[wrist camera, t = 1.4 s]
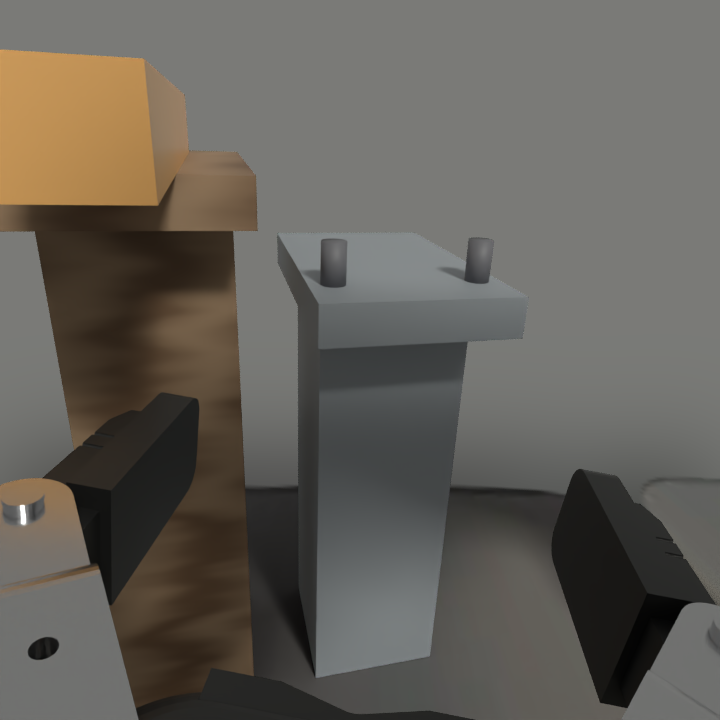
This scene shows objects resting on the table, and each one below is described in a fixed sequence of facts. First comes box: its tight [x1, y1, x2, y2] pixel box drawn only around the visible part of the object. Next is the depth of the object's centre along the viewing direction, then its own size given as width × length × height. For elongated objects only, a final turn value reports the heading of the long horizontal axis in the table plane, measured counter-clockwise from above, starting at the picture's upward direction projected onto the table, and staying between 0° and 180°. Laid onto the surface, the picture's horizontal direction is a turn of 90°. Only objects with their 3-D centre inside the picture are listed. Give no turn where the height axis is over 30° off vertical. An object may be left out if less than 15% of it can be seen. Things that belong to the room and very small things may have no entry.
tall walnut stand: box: [0, 151, 257, 708], centre depth 33 cm, size 10×16×32 cm, turn 14°
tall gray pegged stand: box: [277, 233, 529, 678], centre depth 36 cm, size 10×16×29 cm, turn 14°
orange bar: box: [0, 50, 189, 206], centre depth 22 cm, size 4×22×3 cm, turn 14°
